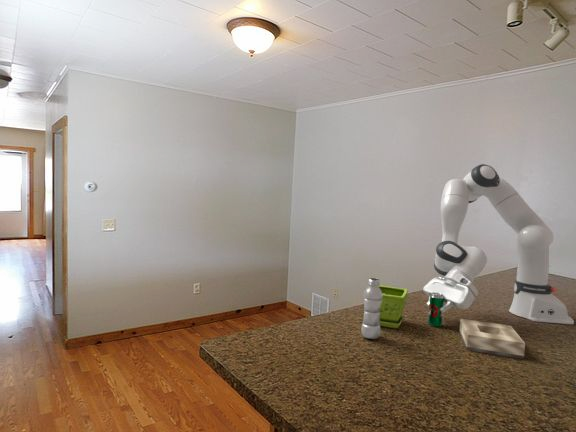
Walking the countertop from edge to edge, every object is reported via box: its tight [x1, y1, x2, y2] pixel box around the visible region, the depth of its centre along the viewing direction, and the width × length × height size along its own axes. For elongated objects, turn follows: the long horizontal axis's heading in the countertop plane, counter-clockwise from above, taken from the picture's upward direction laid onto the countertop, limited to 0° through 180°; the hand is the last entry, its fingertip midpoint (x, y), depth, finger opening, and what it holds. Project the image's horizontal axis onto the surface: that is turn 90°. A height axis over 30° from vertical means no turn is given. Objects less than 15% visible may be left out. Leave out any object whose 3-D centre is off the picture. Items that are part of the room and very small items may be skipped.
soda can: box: [427, 293, 445, 328], centre depth 137 cm, size 5×5×12 cm
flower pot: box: [379, 285, 409, 329], centre depth 136 cm, size 14×14×13 cm
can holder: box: [458, 318, 526, 360], centre depth 121 cm, size 16×16×5 cm
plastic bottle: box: [360, 277, 384, 340], centre depth 121 cm, size 6×7×20 cm
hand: (434, 308), depth 136 cm, fingers closed on soda can, 5 cm apart
